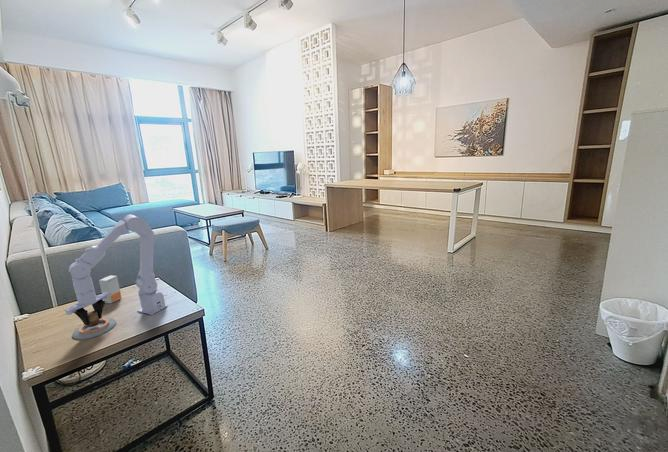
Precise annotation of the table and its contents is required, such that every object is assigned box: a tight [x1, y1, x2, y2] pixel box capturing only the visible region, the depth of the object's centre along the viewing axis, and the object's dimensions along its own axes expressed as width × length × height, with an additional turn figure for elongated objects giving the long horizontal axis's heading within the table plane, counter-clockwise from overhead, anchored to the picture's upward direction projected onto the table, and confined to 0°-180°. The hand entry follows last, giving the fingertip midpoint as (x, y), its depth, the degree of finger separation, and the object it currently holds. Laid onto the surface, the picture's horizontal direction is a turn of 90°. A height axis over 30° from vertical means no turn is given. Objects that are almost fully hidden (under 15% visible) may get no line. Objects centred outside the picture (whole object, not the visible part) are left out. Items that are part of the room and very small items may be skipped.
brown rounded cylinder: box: [87, 310, 100, 327], centre depth 117 cm, size 4×4×5 cm
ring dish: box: [71, 317, 117, 341], centre depth 118 cm, size 14×14×2 cm
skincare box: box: [98, 274, 122, 304], centre depth 140 cm, size 6×4×12 cm
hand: (93, 321), depth 117 cm, fingers closed on brown rounded cylinder, 4 cm apart
